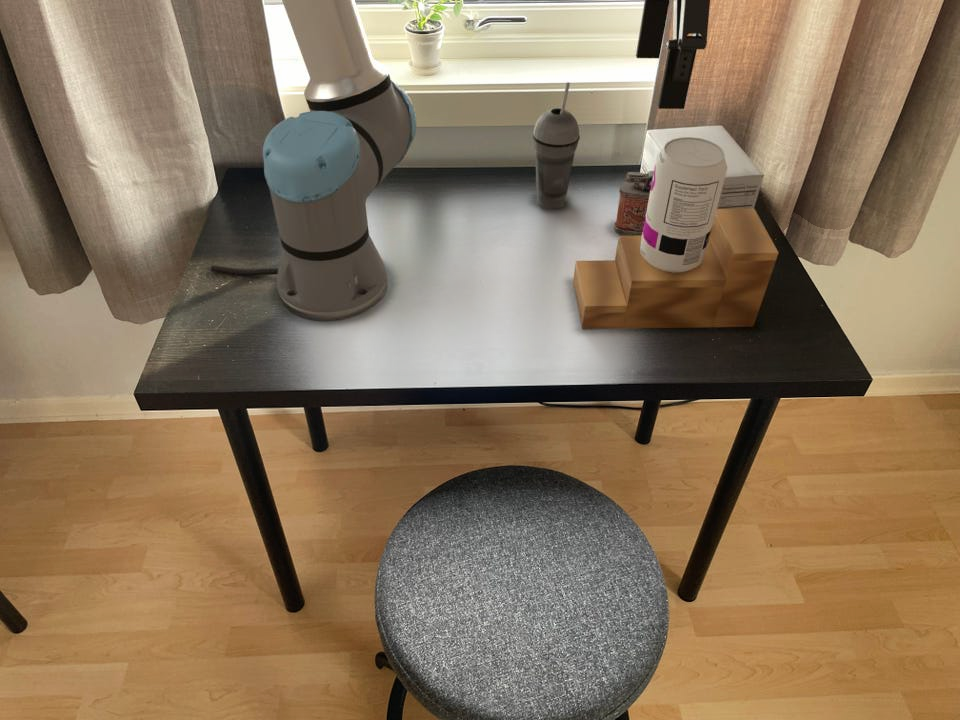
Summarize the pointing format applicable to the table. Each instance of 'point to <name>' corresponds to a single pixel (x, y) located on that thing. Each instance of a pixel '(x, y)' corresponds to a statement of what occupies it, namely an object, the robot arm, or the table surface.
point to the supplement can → (682, 203)
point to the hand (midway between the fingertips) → (658, 81)
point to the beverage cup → (554, 154)
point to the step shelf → (681, 281)
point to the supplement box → (740, 168)
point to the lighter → (633, 204)
